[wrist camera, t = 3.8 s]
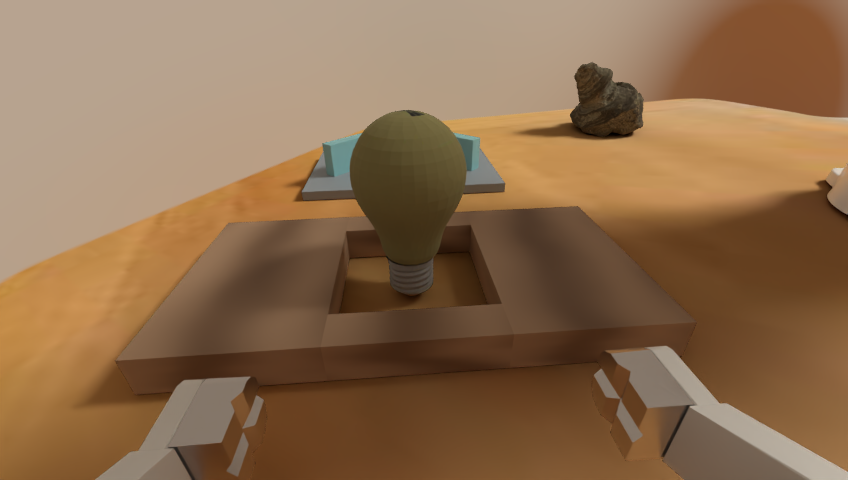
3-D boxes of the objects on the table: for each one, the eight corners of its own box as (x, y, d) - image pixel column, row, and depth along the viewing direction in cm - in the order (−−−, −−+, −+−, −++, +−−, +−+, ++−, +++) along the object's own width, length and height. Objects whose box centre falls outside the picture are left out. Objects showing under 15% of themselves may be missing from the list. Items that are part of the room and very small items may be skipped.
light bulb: (470, 272, 23) (479, 102, 18) (448, 333, 19) (451, 129, 14) (386, 258, 25) (374, 98, 20) (346, 312, 20) (317, 121, 15)
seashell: (555, 77, 57) (549, 85, 49) (639, 28, 51) (648, 27, 43) (586, 144, 60) (585, 161, 52) (670, 104, 54) (684, 117, 45)
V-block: (478, 152, 45) (479, 119, 43) (504, 191, 34) (508, 150, 33) (324, 158, 44) (319, 125, 42) (303, 200, 33) (295, 158, 32)
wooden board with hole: (573, 231, 28) (578, 206, 27) (682, 355, 17) (697, 322, 16) (236, 248, 26) (228, 223, 25) (134, 394, 16) (115, 360, 15)
